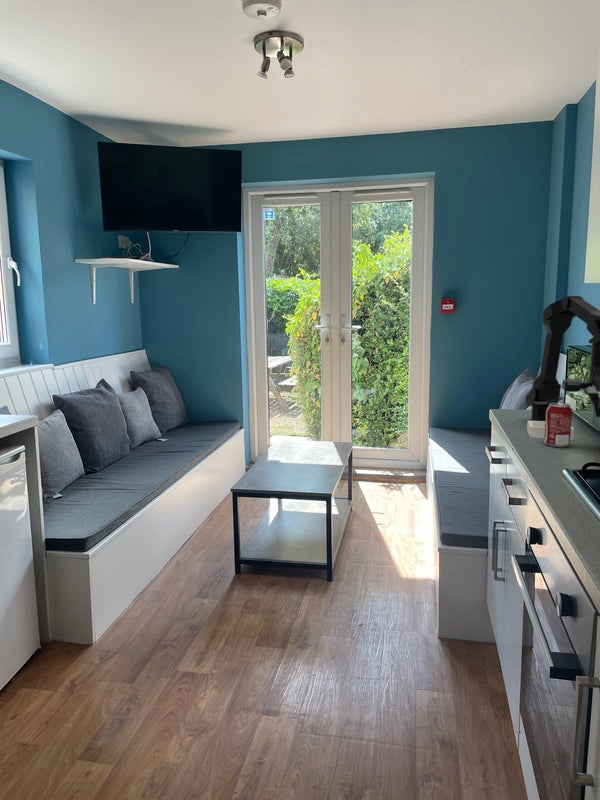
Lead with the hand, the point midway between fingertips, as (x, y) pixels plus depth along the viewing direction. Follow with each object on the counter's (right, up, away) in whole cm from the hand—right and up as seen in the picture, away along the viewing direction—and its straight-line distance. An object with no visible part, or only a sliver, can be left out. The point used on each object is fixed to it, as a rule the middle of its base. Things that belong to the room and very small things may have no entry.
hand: (597, 416), depth 161 cm
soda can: (-10, -9, +4) cm, 14 cm away
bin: (-7, -6, +15) cm, 18 cm away
